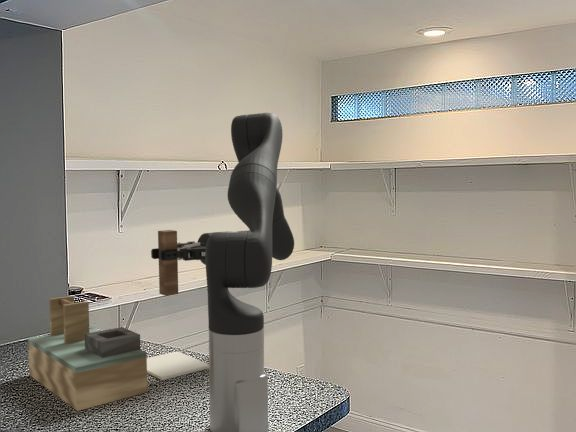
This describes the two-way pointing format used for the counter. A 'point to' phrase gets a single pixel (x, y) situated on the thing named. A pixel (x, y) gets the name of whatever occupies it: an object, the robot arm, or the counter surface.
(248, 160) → the robot arm
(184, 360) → the mat
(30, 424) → the counter surface
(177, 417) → the counter surface
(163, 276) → the walnut key
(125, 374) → the wooden socket fixture
